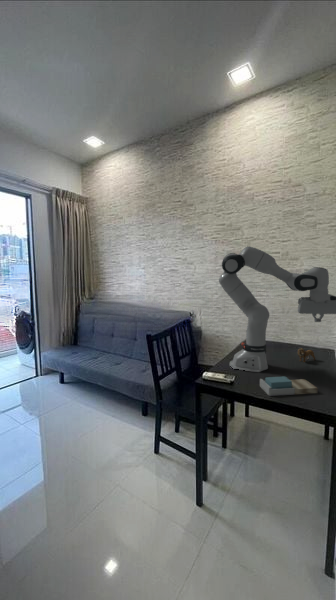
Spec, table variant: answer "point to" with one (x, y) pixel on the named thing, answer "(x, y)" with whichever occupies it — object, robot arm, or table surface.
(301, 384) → the birch plate
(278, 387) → the teal block
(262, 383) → the box
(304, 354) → the lion figurine
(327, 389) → the table surface
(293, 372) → the table surface
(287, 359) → the table surface
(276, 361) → the table surface
